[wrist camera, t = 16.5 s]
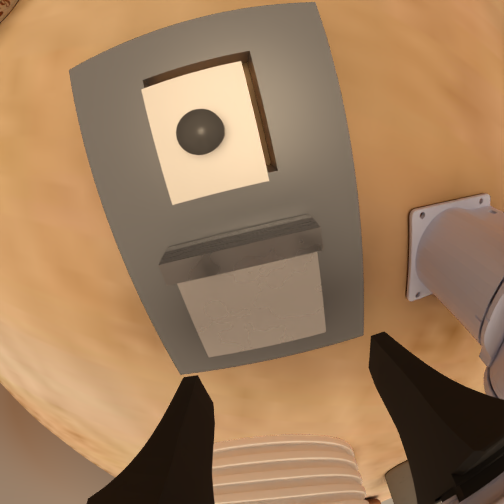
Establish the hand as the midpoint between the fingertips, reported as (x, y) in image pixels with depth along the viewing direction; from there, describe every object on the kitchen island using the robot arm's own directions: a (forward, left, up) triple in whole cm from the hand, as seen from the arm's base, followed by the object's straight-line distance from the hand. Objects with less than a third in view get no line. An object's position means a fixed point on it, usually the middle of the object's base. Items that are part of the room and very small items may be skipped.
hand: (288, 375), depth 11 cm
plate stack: (+7, +36, -10) cm, 38 cm away
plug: (+1, -9, -10) cm, 13 cm away
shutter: (+1, 0, -7) cm, 7 cm away
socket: (+1, -5, -9) cm, 11 cm away
